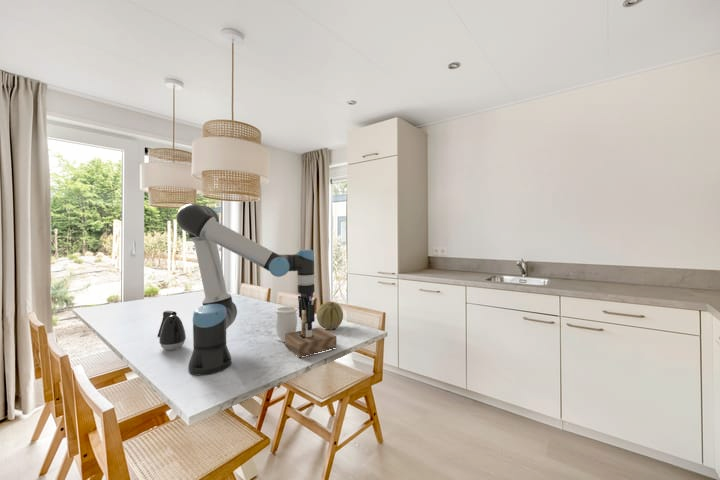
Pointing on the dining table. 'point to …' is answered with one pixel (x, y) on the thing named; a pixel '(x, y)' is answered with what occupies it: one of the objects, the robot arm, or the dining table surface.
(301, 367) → the dining table surface
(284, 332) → the jar
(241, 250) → the robot arm
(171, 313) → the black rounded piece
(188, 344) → the dining table surface
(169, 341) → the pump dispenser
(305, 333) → the peg
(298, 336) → the wooden block with hole
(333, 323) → the cantaloupe
